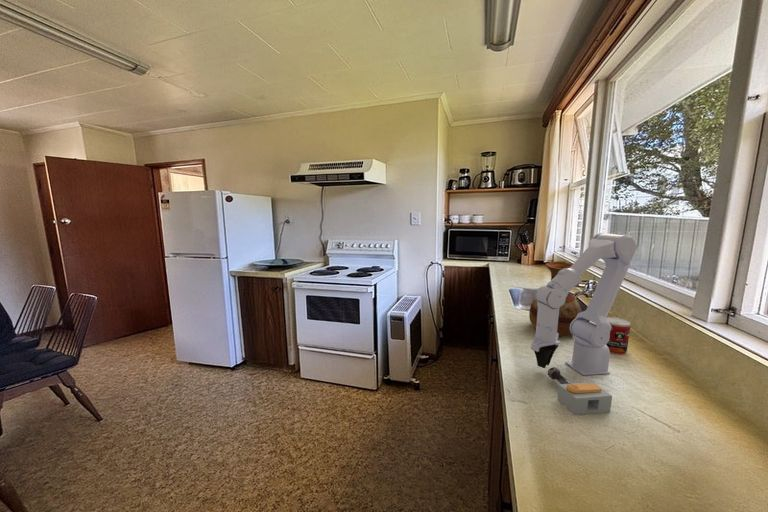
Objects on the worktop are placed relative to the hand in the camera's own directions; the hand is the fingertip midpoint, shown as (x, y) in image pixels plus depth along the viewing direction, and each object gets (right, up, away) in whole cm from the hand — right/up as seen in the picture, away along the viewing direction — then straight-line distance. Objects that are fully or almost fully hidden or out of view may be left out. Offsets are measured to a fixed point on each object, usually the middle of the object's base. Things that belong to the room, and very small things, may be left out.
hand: (543, 365), depth 93 cm
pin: (+1, -3, -10) cm, 10 cm away
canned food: (+35, 0, +16) cm, 38 cm away
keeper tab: (+1, 0, -17) cm, 17 cm away
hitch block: (+2, -5, -16) cm, 17 cm away
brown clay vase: (+23, +3, +33) cm, 40 cm away
